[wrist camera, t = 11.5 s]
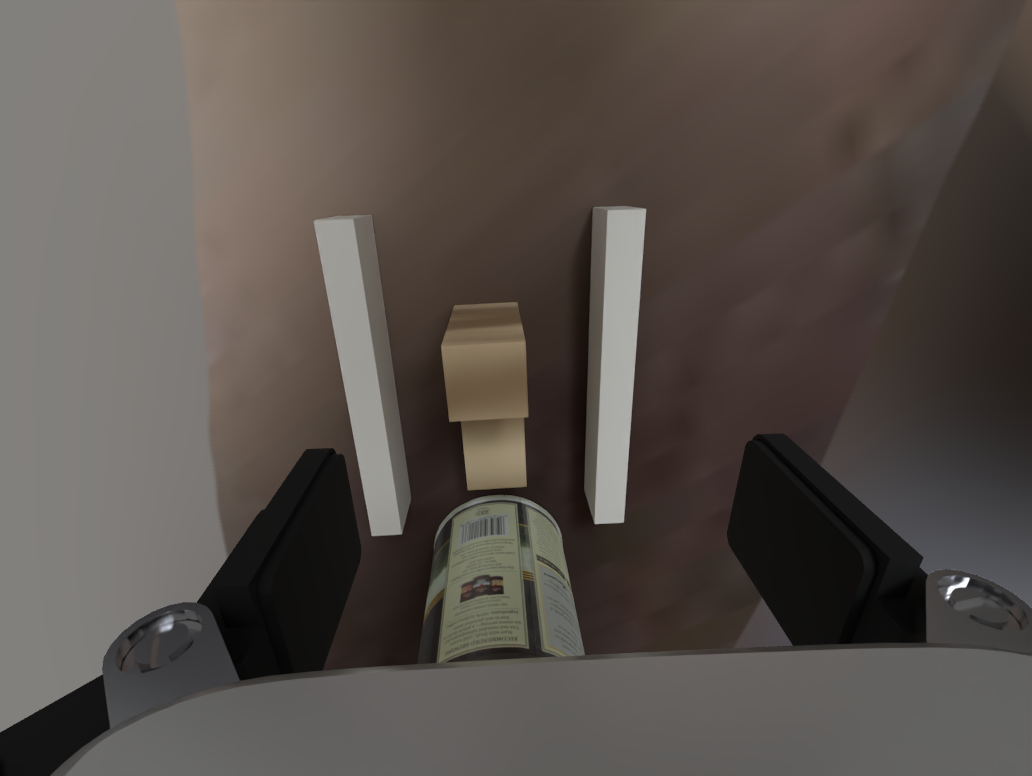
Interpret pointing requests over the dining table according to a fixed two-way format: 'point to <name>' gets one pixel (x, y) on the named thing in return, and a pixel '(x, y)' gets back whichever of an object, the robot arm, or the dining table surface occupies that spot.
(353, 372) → the white rectangular posts
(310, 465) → the robot arm
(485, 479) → the wooden rectangular block
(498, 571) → the coffee can
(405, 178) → the dining table surface
